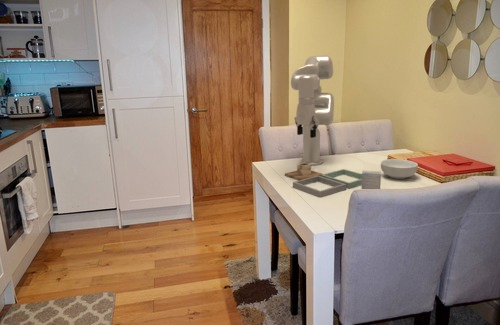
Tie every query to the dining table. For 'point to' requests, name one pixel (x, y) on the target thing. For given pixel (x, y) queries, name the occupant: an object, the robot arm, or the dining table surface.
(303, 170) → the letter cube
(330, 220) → the dining table surface
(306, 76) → the robot arm
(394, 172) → the cereal bowl
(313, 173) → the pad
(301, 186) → the grey rectangular frame
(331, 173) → the green tray
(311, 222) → the dining table surface
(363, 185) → the medicine box
